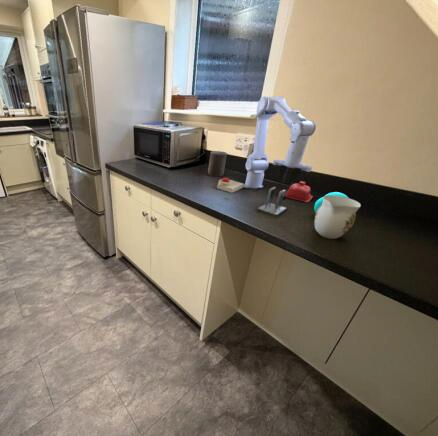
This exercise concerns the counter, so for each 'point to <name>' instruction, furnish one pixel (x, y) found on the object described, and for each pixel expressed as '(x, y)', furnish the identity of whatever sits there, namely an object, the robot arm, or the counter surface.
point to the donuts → (320, 201)
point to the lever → (275, 193)
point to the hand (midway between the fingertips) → (285, 184)
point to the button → (225, 179)
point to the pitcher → (335, 216)
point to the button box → (230, 185)
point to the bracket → (273, 208)
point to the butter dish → (299, 192)
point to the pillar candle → (217, 163)
